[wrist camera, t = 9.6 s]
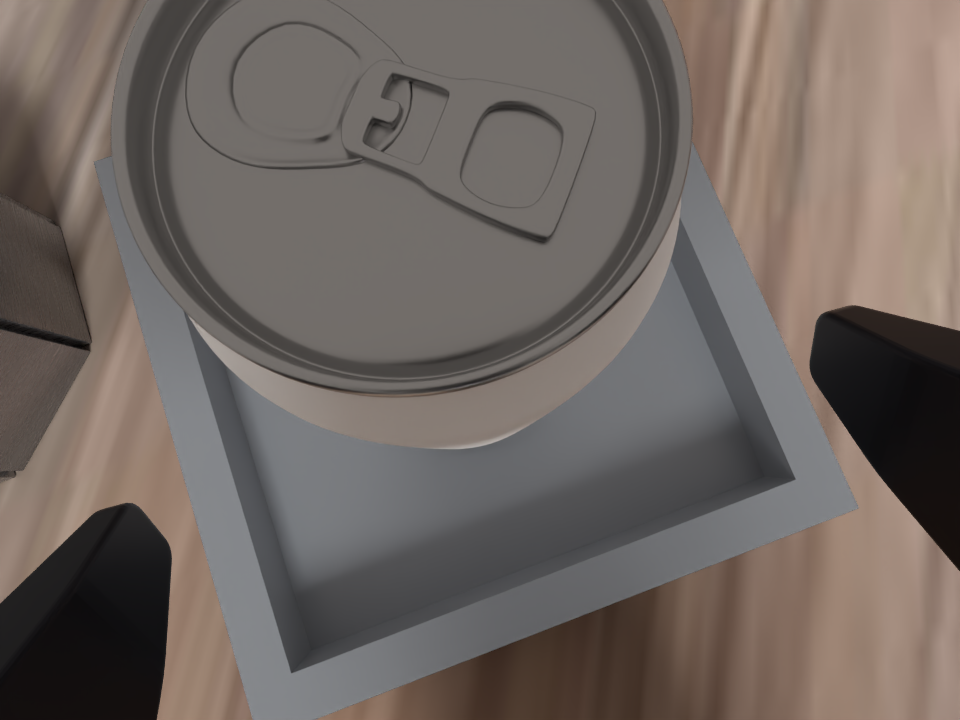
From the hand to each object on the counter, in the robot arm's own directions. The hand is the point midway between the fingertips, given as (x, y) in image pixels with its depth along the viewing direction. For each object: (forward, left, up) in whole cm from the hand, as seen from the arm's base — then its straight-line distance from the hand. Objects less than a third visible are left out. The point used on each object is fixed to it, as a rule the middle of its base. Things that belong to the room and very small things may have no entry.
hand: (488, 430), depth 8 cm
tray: (+3, 0, -10) cm, 11 cm away
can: (+3, 0, -10) cm, 10 cm away
